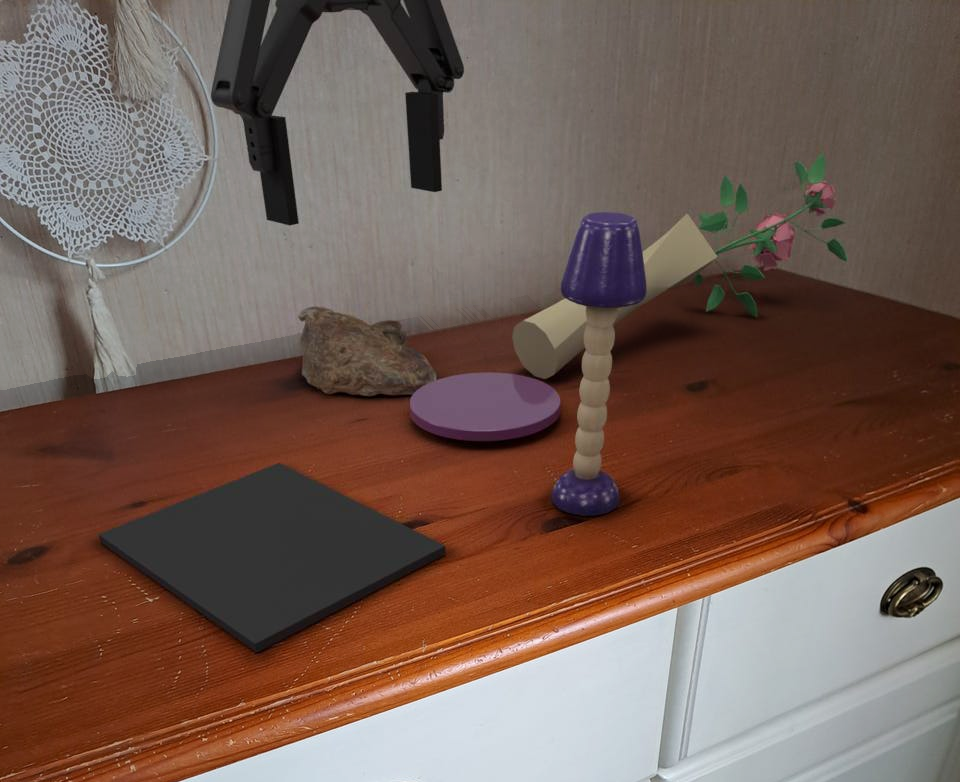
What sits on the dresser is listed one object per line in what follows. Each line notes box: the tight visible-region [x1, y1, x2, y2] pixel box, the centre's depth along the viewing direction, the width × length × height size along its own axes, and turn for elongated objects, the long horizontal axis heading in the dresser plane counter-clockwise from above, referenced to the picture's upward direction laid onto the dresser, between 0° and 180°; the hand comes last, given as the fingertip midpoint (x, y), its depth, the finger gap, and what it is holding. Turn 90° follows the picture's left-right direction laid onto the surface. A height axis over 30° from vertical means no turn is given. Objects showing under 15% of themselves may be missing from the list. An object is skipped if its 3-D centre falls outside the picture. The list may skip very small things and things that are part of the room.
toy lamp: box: [550, 211, 647, 517], centre depth 55 cm, size 5×5×17 cm
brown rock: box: [297, 305, 437, 397], centre depth 77 cm, size 10×12×5 cm
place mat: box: [98, 462, 447, 653], centre depth 56 cm, size 16×13×1 cm
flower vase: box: [511, 152, 849, 380], centre depth 84 cm, size 12×12×35 cm
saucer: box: [409, 372, 562, 442], centre depth 71 cm, size 11×11×1 cm
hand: (358, 205), depth 71 cm, fingers open, 13 cm apart
